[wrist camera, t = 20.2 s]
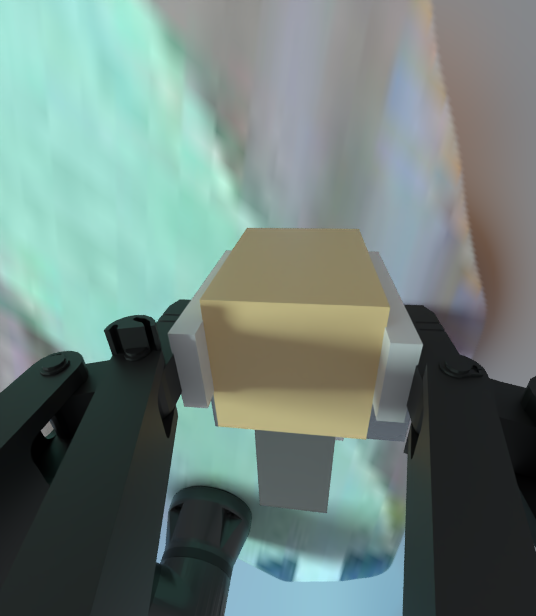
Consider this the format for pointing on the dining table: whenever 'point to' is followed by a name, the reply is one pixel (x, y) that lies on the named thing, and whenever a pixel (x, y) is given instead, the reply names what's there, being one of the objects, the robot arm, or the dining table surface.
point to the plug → (295, 352)
